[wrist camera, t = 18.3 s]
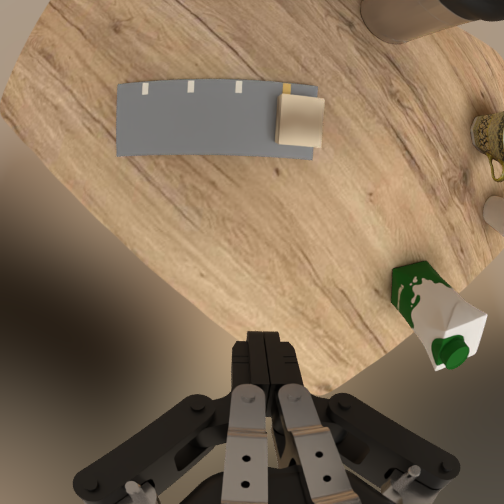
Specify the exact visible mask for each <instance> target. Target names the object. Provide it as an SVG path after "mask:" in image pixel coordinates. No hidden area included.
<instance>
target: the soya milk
mask: <svg viewBox="0 0 504 504" xmlns="http://www.w3.org/2000/svg"><path fill="white" fill-rule="evenodd" d="M391 303H392V304H393V305H394V306H395V307H396V309H397V310H398V311H399V312H400V313H401V314H402V316H403V317H404V318H405V320H406V321H407V322H408V324H409V325H410V327H411V328H412V329H413V331H414V332H415V333H416V335H417V336H418V338H419V339H420V341H421V342H422V343H423V345H424V347H425V349H426V351H427V353H428V356H429V358H430V360H431V362H432V365H433V367H434V369H435V371H437V370H440V369H442V368H445V367H446V368H447V369H454V368H457V367H458V366H460V365H461V364H462V363H463V362H464V361H465V360H466V359H467V357H469V356H472V355H474V354H476V351H477V348H478V345H479V342H480V339H481V336H482V332H483V329H484V326H485V322H486V318H487V314H486V313H485V312H483V311H481V310H479V309H478V308H476V307H474V306H473V305H471V304H469V303H468V302H466V301H465V300H464V299H463V298H462V297H461V296H460V295H459V294H458V293H457V292H456V291H455V290H454V289H453V288H452V287H451V286H450V285H449V284H448V283H447V282H446V281H445V280H443V279H442V278H441V277H440V276H439V274H438V273H437V272H436V271H435V270H434V269H433V267H432V266H431V265H430V264H429V263H428V262H427V261H423V262H419V263H415V264H411V265H407V266H402V267H398V268H394V269H393V273H392V295H391Z"/></svg>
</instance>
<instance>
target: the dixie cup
mask: <svg viewBox="0 0 504 504" xmlns="http://www.w3.org/2000/svg"><path fill="white" fill-rule="evenodd" d="M483 217H484V220H485V221H486V222H487V223H488V224H489V225H490V226H491V227H493V228H494V229H495V230H496V231H498V232H499V233H500V234H501V235H502V236H503V237H504V198H503V197H499V196H491V197H489V198H488V199H487V201H486V203H485V205H484V209H483Z"/></svg>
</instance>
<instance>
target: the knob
mask: <svg viewBox="0 0 504 504" xmlns="http://www.w3.org/2000/svg"><path fill="white" fill-rule="evenodd" d="M324 103H325V99H324V98H316V97H308V96H299V95H290V94H281V95H279V96H278V97H277V114H276V130H275V143H277V144H282V145H295V146H306V147H316V148H321V142H322V130H323V117H324Z"/></svg>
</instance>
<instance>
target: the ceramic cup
mask: <svg viewBox="0 0 504 504" xmlns="http://www.w3.org/2000/svg"><path fill="white" fill-rule="evenodd" d="M470 131H471V137H472V143H473V145H474V146H475V147H476V148H477V149H478V150H479V151H480V152H481V153H483V154H485V155H487V157H488V158H489V163H490V166H491V174H492V178H493V179H494V181H496V182H502V181H504V111H502V112H499V113H496V114H489V115H483V116H477V117H475V119H474V121H473V124H472V126H471V129H470ZM493 159H494V160H496V161H498V162H499V163H500V164H501V165H502V167H503V171H502V175H501V177H500V178H499V179H495V176H494V168H493V165H492V160H493Z"/></svg>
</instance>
